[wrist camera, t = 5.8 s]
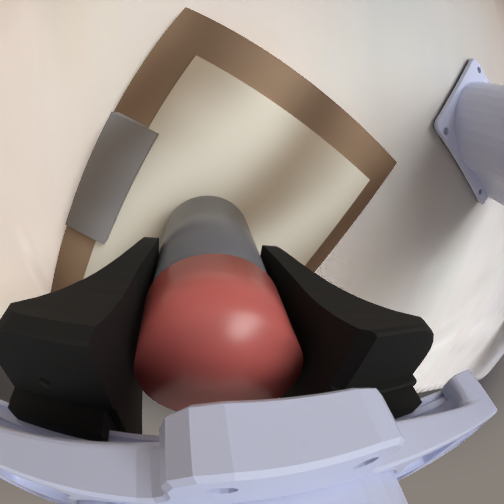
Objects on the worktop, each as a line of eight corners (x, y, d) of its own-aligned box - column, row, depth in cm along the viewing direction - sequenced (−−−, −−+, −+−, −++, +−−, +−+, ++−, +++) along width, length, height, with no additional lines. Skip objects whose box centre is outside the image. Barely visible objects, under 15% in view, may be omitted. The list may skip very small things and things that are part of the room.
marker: (255, 195, 13) (323, 312, 6) (245, 273, 15) (284, 410, 8) (162, 192, 12) (118, 313, 5) (164, 272, 14) (148, 415, 7)
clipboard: (391, 160, 15) (407, 166, 13) (230, 360, 20) (232, 376, 19) (186, 11, 9) (184, 0, 8) (54, 287, 15) (45, 302, 14)
